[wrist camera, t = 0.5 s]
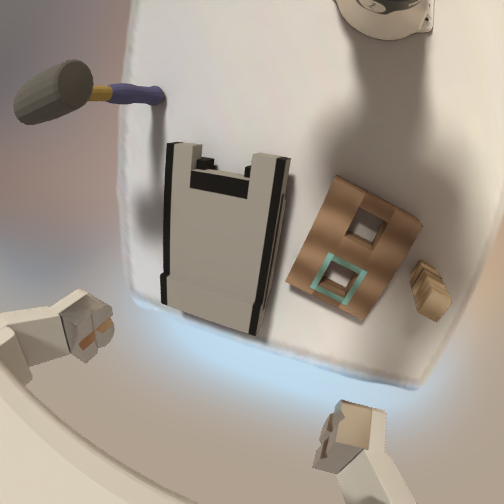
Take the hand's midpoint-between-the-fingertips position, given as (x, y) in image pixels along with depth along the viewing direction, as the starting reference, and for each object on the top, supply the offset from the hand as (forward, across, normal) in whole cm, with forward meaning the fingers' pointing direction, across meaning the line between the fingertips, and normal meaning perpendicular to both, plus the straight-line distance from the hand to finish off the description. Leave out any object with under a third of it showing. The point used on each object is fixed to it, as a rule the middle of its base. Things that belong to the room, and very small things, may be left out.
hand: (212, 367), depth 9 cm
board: (+45, -7, +11) cm, 46 cm away
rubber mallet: (+45, +36, -8) cm, 58 cm away
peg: (+45, -21, +11) cm, 51 cm away
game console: (+45, +16, +15) cm, 50 cm away
